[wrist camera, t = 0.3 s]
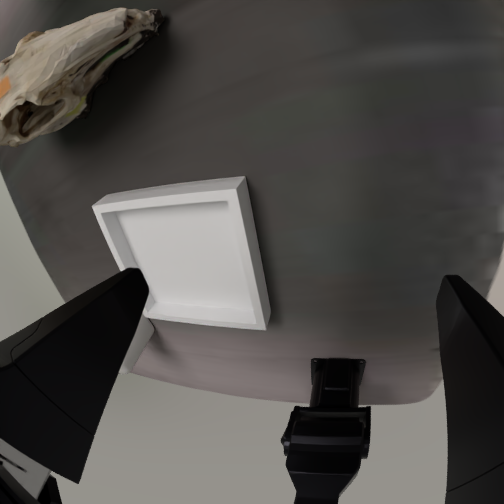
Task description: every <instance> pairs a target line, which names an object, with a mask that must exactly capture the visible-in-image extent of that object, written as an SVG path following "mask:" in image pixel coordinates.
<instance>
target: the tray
mask: <svg viewBox="0 0 504 504" xmlns="http://www.w3.org/2000/svg"><path fill="white" fill-rule="evenodd" d="M92 208H93V210H94V213H95V215H96V217H97V220H98V222H99V225H100V227H101V229H102V232H103V234H104V236H105V238H106V241H107V243H108V245H109V247H110V249H111V252H112V254H113V256H114V258H115V260H116V262H117V264H118V266H119V268H120V270H121V271H123V270H125V269H126V268H129V267H133V268H139V269H140V270H141V271H142V273H143V275H144V277H145V279H146V282H147V284H148V286H149V296H148V299H147V301H146V304H145V307H144V310H143V314H144V316H145V317H147V318H154V319H161V320H169V321H176V322H184V323H193V324H202V325H211V326H221V327H232V328H243V329H256V330H266V329H267V326H268V322H269V318H270V315H271V308H270V303H269V297H268V292H267V286H266V281H265V276H264V271H263V265H262V260H261V255H260V249H259V244H258V239H257V234H256V228H255V223H254V218H253V213H252V207H251V202H250V197H249V192H248V187H247V182H246V177H245V176H242V177H231V178H221V179H211V180H202V181H194V182H186V183H178V184H170V185H163V186H156V187H149V188H143V189H136V190H130V191H124V192H118V193H113V194H107V195H106V196H105V197H103V198H102V199H101V200H99V201H98V202H97V203H95V204H94V205H93V206H92Z"/></svg>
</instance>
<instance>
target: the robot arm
mask: <svg viewBox="0 0 504 504" xmlns="http://www.w3.org/2000/svg"><path fill="white" fill-rule="evenodd" d="M148 296H149V286H148V284H147V282H146V279H145V277H144V275H143V273H142V271H141V270H140V269H139V268H133V267H129V268H126V269H125V270H123V271H121V272H119V273H117V274H116V275H114V276H112V277H110V278H109V279H107V280H105V281H103V282H101V283H100V284H98V285H96V286H94V287H93V288H91V289H89V290H87V291H86V292H84V293H82V294H81V295H79V296H77V297H75V298H74V299H72V300H70V301H69V302H67V303H65V304H64V305H62V306H60V307H59V308H57V309H55V310H54V311H52V312H50V313H49V314H47V315H45V316H44V317H42V318H40V319H39V320H37V321H36V322H34V323H32V324H31V325H29V326H27V327H26V328H24V329H22V330H20V331H19V332H17V333H15V334H13V335H12V336H10V337H8V338H6V339H4V340H3V341H1V342H0V504H62V502H61V498H60V494H59V490H58V486H57V481H56V478H54V477H53V476H52V475H51V474H50V473H51V471H53V472H55V473H57V474H59V475H61V476H63V477H65V478H67V479H69V480H71V481H73V482H75V483H77V484H79V481H80V479H81V476H82V473H83V470H84V467H85V463H86V460H87V457H88V454H89V451H90V448H91V445H92V442H93V439H94V435H95V433H96V430H97V427H98V425H99V422H100V419H101V416H102V414H103V411H104V408H105V406H106V403H107V400H108V398H109V395H110V393H111V390H112V387H113V385H114V383H115V380H116V378H117V375H118V373H119V371H120V368H121V366H122V363H123V361H124V359H125V356H126V354H127V352H128V349H129V347H130V345H131V342H132V340H133V338H134V335H135V333H136V330H137V327H138V325H139V322H140V319H141V316H142V313H143V310H144V307H145V304H146V301H147V299H148ZM436 309H437V318H438V330H439V344H440V357H441V365H442V372H443V380H444V388H445V399H446V411H447V433H448V469H447V488H446V491H447V492H446V497H445V504H504V317H503V316H502V315H501V314H500V313H499V312H498V311H497V310H496V309H495V308H494V307H493V306H492V305H491V304H490V303H489V302H488V301H487V300H486V299H485V298H483V297H482V296H481V295H480V294H479V293H478V292H477V291H476V290H475V289H474V288H472V287H471V286H470V285H469V284H468V283H467V282H466V281H464V280H463V279H462V278H461V277H460V276H458V275H445V276H444V277H443V280H442V283H441V286H440V290H439V293H438V296H437V300H436ZM314 360H316V361H317V362H314ZM361 361H362V362H363V363H360V362H361ZM365 363H366V361H365V360H364V359H331V358H329V359H322V358H313V359H311V380H312V385H313V387H312V394H311V400H310V406H309V407H300V406H295V407H294V410H293V411H292V412H291V415H290V419H289V422H288V426H287V428H286V430H285V432H284V434H283V436H282V438H281V443H282V445H283V446H284V454H285V456H287V460H286V468H287V470H288V472H289V475H290V477H291V480H292V482H293V484H294V487H295V489H296V497H295V501H294V504H338V498H339V497H340V496H341V494H342V493H343V492H344V491H345V490H346V489H347V487H348V486H349V485H350V484H351V483H352V481H353V480H354V479H355V477H356V476H357V474H358V471H359V469H360V464H361V459H366V458H367V457H368V452H369V444H370V429H371V406H367V407H358V404H359V386H360V384H361V380H362V376H363V372H364V368H365Z"/></svg>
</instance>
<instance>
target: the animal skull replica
mask: <svg viewBox="0 0 504 504" xmlns="http://www.w3.org/2000/svg"><path fill="white" fill-rule="evenodd" d="M164 20H165V18H163V16H162V14H161V11H160V10H159V9H151V10H148V11H146V12H143V11H140V10H138V9H126V8H123V7H121V8H115V9H111V10H109V11H107V12H102V13H97V14H94V15H91V16H89V17H87V18H85V19H83V20H81V21H78V22H76V23H73V24H70V25H67V26H64V27H62V28H60V29H59V28H56V29H51V30H47V31H46V32H39V31H35V32H31V33H29V34H28V35H27V36H25V37H24V38H23V39H22V40H20V41H19V43H18V45H17V47H16V50H15V54H13V55H11V56H9V57H8V58H6V59H4V60H3V61H2V62H0V146H3V145H10V146H11V147H18V146H19V144H22V143H26V142H28V141H30V140H32V139H34V138H35V137H37V136H39V135H44V134H48V133H52V132H55V131H57V130H59V129H61V128H63V127H65V126H66V125H68V124H70V123H71V122H72V121H73V120H74V119H78V118H85V119H86V117H87V115H88V113H89V110H91V103H92V98H93V97H92V96H93V92H95V90H96V88H98V87H99V86H100V85H102V84H104V83H106V82H107V80H109V77H108V74H109V72H110V70H111V68H112V67H113V66H114V65H115V64H116V62H117V61H118V60H120V59H122V58H123V60H126V59H127V58H129V57H131V56H132V54H134V53H135V52H136V50H137V49H138V48H140V47H141V45H143V44H144V43H145V41H147V40H148V39H150V37H153V36H158V35H159V34H158V31H157V30H158V29H157V28H158V26H159V25H160V24H161V23H162V22H163V21H164Z"/></svg>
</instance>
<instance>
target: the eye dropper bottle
mask: <svg viewBox="0 0 504 504" xmlns="http://www.w3.org/2000/svg"><path fill="white" fill-rule="evenodd" d="M153 333H154V327H153V325H152V324H151V322H150V321H149V319H148V318H147V317H145V316H144V314H143V313H142V316H141V319H140V322H139V325H138V327H137V330H136V333H135V335H134V338H133V340H132V342H131V345H130V347H129V349H128V352H127V354H126V356H125V359H124V361H123V363H122V366H121V368H120V371H119V373H118V374H128V373H129V372H130V371H131V370H132V369H133V367H134V365H135V364H136V362H137V360H138V358H139V357H140V355H141V353H142V352H143V350H144V348H145V346H146V345H147V343H148V341H149V340H150V338H151V336H152V334H153Z"/></svg>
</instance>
